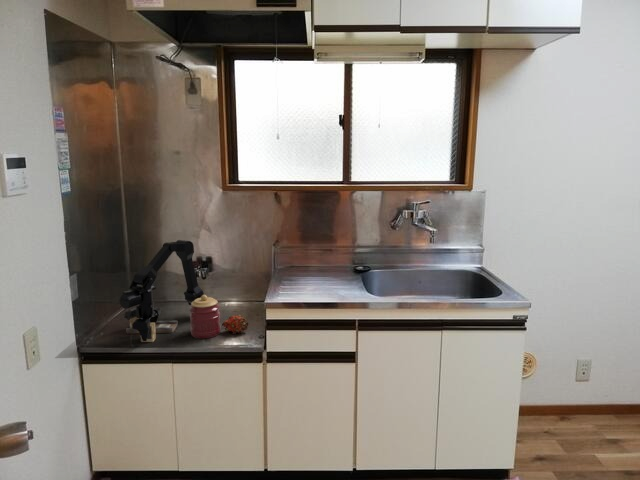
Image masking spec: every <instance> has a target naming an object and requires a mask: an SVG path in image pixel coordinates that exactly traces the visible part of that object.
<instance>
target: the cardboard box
mask: <svg viewBox="0 0 640 480" xmlns="http://www.w3.org/2000/svg"><path fill="white" fill-rule="evenodd" d="M156 339H157V333H156V330H155V323H150V330H149V333H148V337H147V340H146V341H143V339H142V337H141V336H140V342H141V343H149V342H150V343H154V341H155V340H156Z"/></svg>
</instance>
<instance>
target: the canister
mask: <svg viewBox="0 0 640 480" xmlns="http://www.w3.org/2000/svg"><path fill="white" fill-rule="evenodd" d="M218 303H219V302H218V300H217V299H215V298H213V297H211V296H207V295H206V294H204V295H202V296H201V298H198V299H195V300H194V301H193V302H192V303H191V305H190V307H189V308H188V309H189V310H188V311H189V312H190V314H189V321H190V322H189V323H190V334H191V336H192V337H194V338H195V339H210V338H215V337H216V336H218V335H219V334H221V330H222V325H221V312H220V309H221V307H220V306H221V305H220V304H218Z"/></svg>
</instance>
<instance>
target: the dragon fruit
mask: <svg viewBox="0 0 640 480" xmlns="http://www.w3.org/2000/svg"><path fill="white" fill-rule="evenodd" d="M222 326H223V327H224V330H225V331H226V332H231V333H232V335H236V334H237V333H238V334H242V333H243V332H244V331H247V330H248V329H249V327H248V326H249V322H248V319H246V318H245V317H243V316H242V315H241V314H237V315H231V316H229V318H228V319H226V320H225V321H224V322H223V323H222V324H221V327H222Z"/></svg>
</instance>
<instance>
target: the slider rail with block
mask: <svg viewBox="0 0 640 480" xmlns="http://www.w3.org/2000/svg"><path fill="white" fill-rule="evenodd" d="M136 319H142V318H137V317H134V318H131V319H130V320H128V321H129V327H127V328H126V330H125V332H126V334H128V335H129V334H131V335H132V334H140V333H139V331H138V330H135V329H132V323H133V322H134V321H135V320H136ZM178 323H179V322H178V320H157V323H156V325H155V330H156V334H162V333H163V334H170V333H174V331H175V329H176V328H177V327H178V325H179V324H178Z"/></svg>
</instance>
